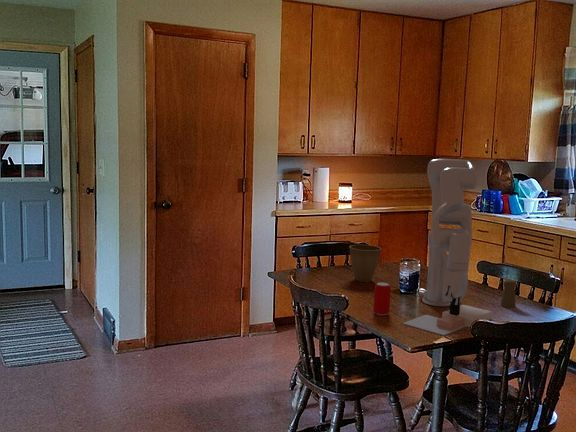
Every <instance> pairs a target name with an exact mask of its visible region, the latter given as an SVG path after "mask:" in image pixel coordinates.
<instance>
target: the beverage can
mask: <svg viewBox="0 0 576 432" xmlns="http://www.w3.org/2000/svg"><path fill="white" fill-rule="evenodd" d="M391 292H392V291H391V286H390V284H389V283H387V282H378V283H376V284H375V286H374V294H373V295H374V296H373V313H374V314H375V315H377V316H380V317H381V316H382V317H383V316H387V315H389V314H390V306H391Z"/></svg>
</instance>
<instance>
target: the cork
mask: <svg viewBox="0 0 576 432" xmlns="http://www.w3.org/2000/svg"><path fill="white" fill-rule="evenodd" d="M502 286H503V292H502V297H501V300H500V305H499V306H500V307H501V308H507V309H515V308H516V306H517V305H516V288H517V282H516V281H515V280H512V279H506V280H504V281H503V283H502Z"/></svg>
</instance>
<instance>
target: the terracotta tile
mask: <svg viewBox="0 0 576 432" xmlns="http://www.w3.org/2000/svg"><path fill="white" fill-rule="evenodd" d="M439 318H440V319H437V326H438V327H442V328H446V329H449V330H453V329H455V328H458V327H460V326H462V325H464V318H461V317H457V316H453V315H447V316H445V317H442V316H441V317H439Z"/></svg>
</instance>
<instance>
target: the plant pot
mask: <svg viewBox="0 0 576 432" xmlns="http://www.w3.org/2000/svg"><path fill="white" fill-rule="evenodd" d="M381 252H382V248H381V247H380V246H376V245H370V244H352V245H349V256H350V264H351V269H352V274H353V276H354V277H353V278H354V279H355V281H357V282H360V283H370V282H371V281H372V279H373V277H374V274H375V272H376V270H377V267H378V264H379V261H380V258H381V257H380V256H381Z"/></svg>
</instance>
